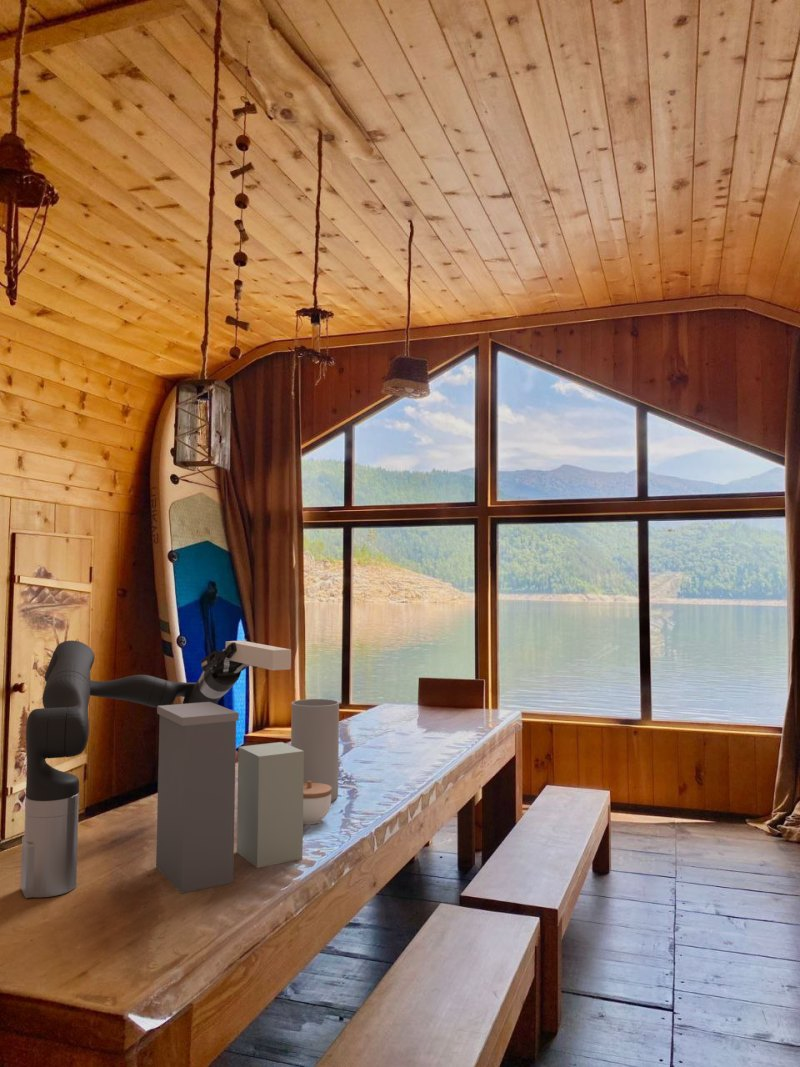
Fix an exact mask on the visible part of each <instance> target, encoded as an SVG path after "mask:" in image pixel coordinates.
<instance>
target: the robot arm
mask: <svg viewBox="0 0 800 1067" xmlns="http://www.w3.org/2000/svg"><path fill="white" fill-rule="evenodd" d="M250 642H252V643H256V642H255V641H250ZM236 651H237V648H236V642H232V643H231V644H230V645H228V646H227V648H226V647H225V648H223V649H222V651H220V650H218V649H217V650H214V651H212V652H211V653H210V654H208V655H207V656H206V657H204V658H202V659H201V660H200V663H201V669H202V673H201V675H200V677H199V678H198V680H197V681H196V682H181V681H180V682H179V681H170V680H166V679H163V678H159V677H157V676H153V675H149V674H134V675H129V676H125V677H122V678H117V679H111V680H106V681H105V680H102V681H101V680H99V681H98V680H91V670H92V668H93V665H94V662H95V656H96V655H95V652H94V651H93V649H92V648H91V647H90V646H89V645H87V644H85V643H84V642H82V641H79V640H65V641H61V642H60V643H59V644H58V645H57V646H56V647H55V648H54V651H53V652H52V656H51V659H50V661H49V664H48V666H47V669H46V671H45V673H44V681H45V685H44V688H43V689H44V690H43V693H42V705H43V708H41V707H40V708H35V709H33V710H30V712H29V714H28V717H27V720H26V726H25V727H26V728H25V745H26V746H25V747H26V748H25V751H26V752H25V753H26V779H25V780H26V782H25V783H26V784H25V801H24V802H25V808H24V810H25V811H24V814H25V815H24V835H23V836H22V838H21V858H20V859H21V862H20V863H21V864H20V866H21V867H20V889H21V892H22V894H23V896H24V898H25V899H29V898H51V897H55V896H57V897H58V896H59V895H64V894H66V893H68V892H70V891H73V890H74V889H75V888H76V887H77V885H78V883H77V880H78V847H79V846H78V843H79V842H78V840H79V838H78V837H79V809H80V808H79V805H80V804H79V803H80V801H79V800H80V778H79V777H78V776H77V775H74V774H72V773H69V772H66V771H61V770H59V769H56V768H55V767H53V766H51V765H50V764H48V763H47V762H46V759H58V758H59V759H61V758H62V759H63V758H72V757H77V756H79V755H80V754H82V753H83V752H84V751H85V750H86V747H87V745H88V741H89V737H90V720H89V703H90V698H91V697H98V698H104V699H106V698H107V699H115V700H121V701H126V702H127V701H128V702H132V703H136V704H140V705H143V706H147V707H150V708H154V709H155V708H156V709H157V706H163V705H174V702H175V700H176V698H180V697H183V701H182V704H188V703H200V702H212V703H215V704H217V705H218V702H219V701H220V700H221V699H222V697H223V696H224V695H226V694H227V693H229V691H230V689H231V688H232V687H234V685H235V684H236V683H237V681H238V680H239V679H240V677H241V675H242V671H244V670H246V668H247V667H252V668H253V669H257V668H258V667H256V666H252V665H248V664H244V663H239V662H235V661H231V660H230V658H231V657H232V656H233V655H234V654H235V652H236Z"/></svg>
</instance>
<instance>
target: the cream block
mask: <svg viewBox="0 0 800 1067" xmlns="http://www.w3.org/2000/svg"><path fill="white" fill-rule="evenodd" d="M232 642H236V648H237V651H236V652H235V654H234V655H233V656H232V657H231V658H230V660H231V661H235V662H239V663H244V664H248V665H252V666H251V667H253V666H256V667H257V668H259V669H264V670H270V671H286V670H291V669H292V649H291V648H284V647H279V646H273V645H270V644H269V645H267V644H262V643H258V642H257V643H256V642H255V643H252V642H251V641H245V640H230V641H225V649H226V648H227V646H228V645H230V644H231V643H232Z"/></svg>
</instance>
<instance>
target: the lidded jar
mask: <svg viewBox="0 0 800 1067" xmlns="http://www.w3.org/2000/svg"><path fill="white" fill-rule="evenodd" d="M331 793H332V787H331V786H329V785H327V784H323V783H312V781H307V783H303V825H317V824H320V823H321V822H323V819H324V818H326V816H327V815H328V813H329V810H330V807H331V802H332V801H331ZM319 822H320V823H319ZM316 823H317V824H316Z"/></svg>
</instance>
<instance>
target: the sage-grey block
mask: <svg viewBox="0 0 800 1067" xmlns="http://www.w3.org/2000/svg"><path fill="white" fill-rule="evenodd" d="M237 750H238V756H237V758H238V759H237V764H238V765H237V804H236V805H237V808H236V811H237V815H236V816H237V818H236V853H237V854H239V855H240V856H241V857H242V858H243V859H245V860H246V861H248V862H249V863H250V864H251V865H253V866H254V867H255V868H263V867H264V868H265V867H269V866H274V865H278V864H279V865H280V864H284V863H288V862H294V861H297V860H303V835H304V834H303V832H304V831H303V830H304V829H303V828H304V824H303V775H304V751H302V750H300V749H298V748H295V747H293V746H291V744H287V743H285V742H283V741H278V742H269V743H261V744H260V743H259V744H251V745H244V746H238V749H237Z"/></svg>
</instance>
